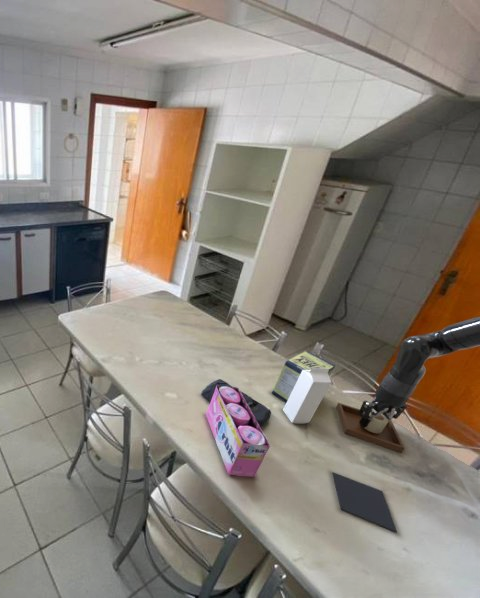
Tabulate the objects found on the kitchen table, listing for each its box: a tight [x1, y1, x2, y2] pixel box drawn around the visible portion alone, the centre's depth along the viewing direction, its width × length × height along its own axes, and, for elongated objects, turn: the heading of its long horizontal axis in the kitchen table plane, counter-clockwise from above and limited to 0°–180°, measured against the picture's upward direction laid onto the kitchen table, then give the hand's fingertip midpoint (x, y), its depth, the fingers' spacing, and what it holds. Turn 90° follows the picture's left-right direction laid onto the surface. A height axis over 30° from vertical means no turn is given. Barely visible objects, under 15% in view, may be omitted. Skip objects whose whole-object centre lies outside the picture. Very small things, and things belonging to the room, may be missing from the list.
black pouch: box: [200, 378, 272, 427], centre depth 119 cm, size 15×22×5 cm
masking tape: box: [362, 409, 388, 434], centre depth 112 cm, size 6×6×5 cm
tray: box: [335, 402, 406, 454], centre depth 113 cm, size 16×14×3 cm
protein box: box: [271, 350, 336, 404], centre depth 123 cm, size 10×16×16 cm
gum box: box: [205, 385, 271, 478], centre depth 102 cm, size 24×8×14 cm, turn 178°
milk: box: [282, 368, 332, 425], centre depth 111 cm, size 6×6×22 cm
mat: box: [331, 472, 398, 533], centre depth 90 cm, size 12×12×1 cm
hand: (371, 425), depth 113 cm, fingers closed on masking tape, 6 cm apart
